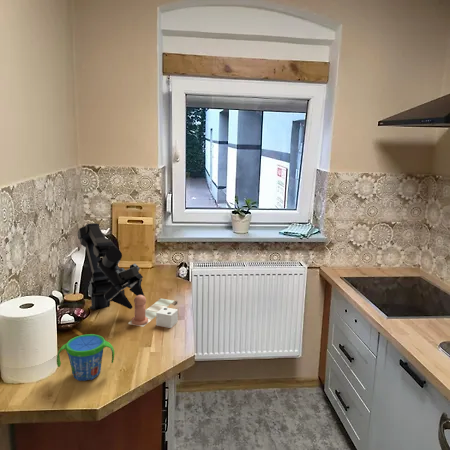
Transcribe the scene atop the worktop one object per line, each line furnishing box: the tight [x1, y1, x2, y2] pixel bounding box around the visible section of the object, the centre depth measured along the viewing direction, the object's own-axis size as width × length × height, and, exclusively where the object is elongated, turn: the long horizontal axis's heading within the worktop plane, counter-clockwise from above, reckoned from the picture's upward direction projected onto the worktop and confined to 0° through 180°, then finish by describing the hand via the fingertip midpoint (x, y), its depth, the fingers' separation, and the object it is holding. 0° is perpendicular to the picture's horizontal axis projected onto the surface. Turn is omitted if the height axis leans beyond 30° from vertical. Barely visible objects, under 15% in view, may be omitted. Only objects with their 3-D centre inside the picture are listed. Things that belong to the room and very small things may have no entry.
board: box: [127, 297, 178, 328], centre depth 156 cm, size 28×9×1 cm, turn 163°
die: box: [155, 307, 179, 329], centre depth 146 cm, size 6×6×6 cm
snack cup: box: [56, 333, 115, 382], centre depth 112 cm, size 16×10×10 cm
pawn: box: [131, 295, 149, 326], centre depth 145 cm, size 6×6×10 cm
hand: (138, 303), depth 145 cm, fingers open, 9 cm apart
